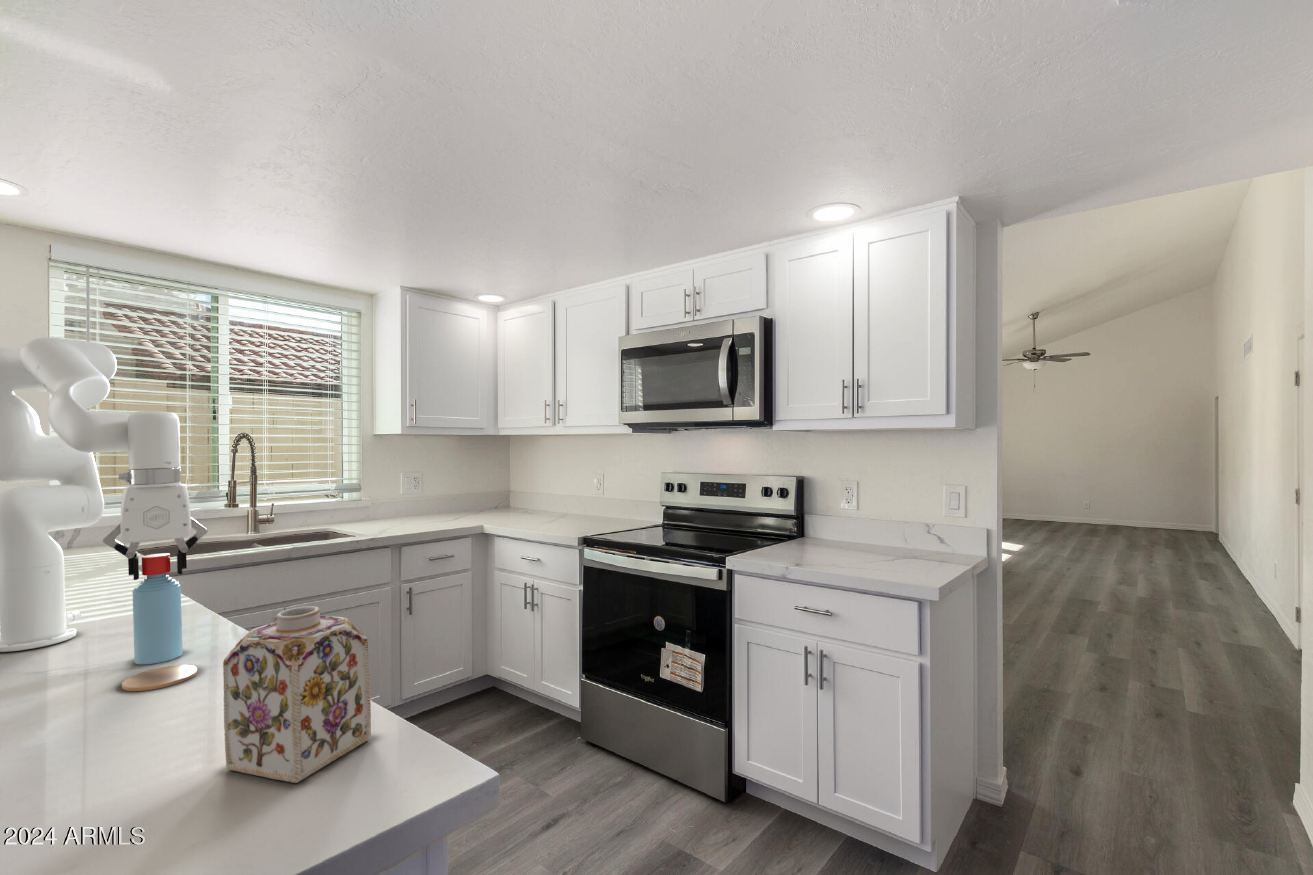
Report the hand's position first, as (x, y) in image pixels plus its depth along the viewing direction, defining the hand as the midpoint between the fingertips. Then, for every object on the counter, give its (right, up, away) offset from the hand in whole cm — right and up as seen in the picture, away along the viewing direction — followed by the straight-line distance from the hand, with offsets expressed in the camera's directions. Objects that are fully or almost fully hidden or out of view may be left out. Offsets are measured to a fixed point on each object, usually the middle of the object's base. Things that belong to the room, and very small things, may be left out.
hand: (158, 574), depth 118 cm
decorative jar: (+48, -14, -38) cm, 63 cm away
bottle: (0, -15, 0) cm, 15 cm away
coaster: (+9, -15, -11) cm, 21 cm away
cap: (0, 0, 0) cm, 1 cm away
